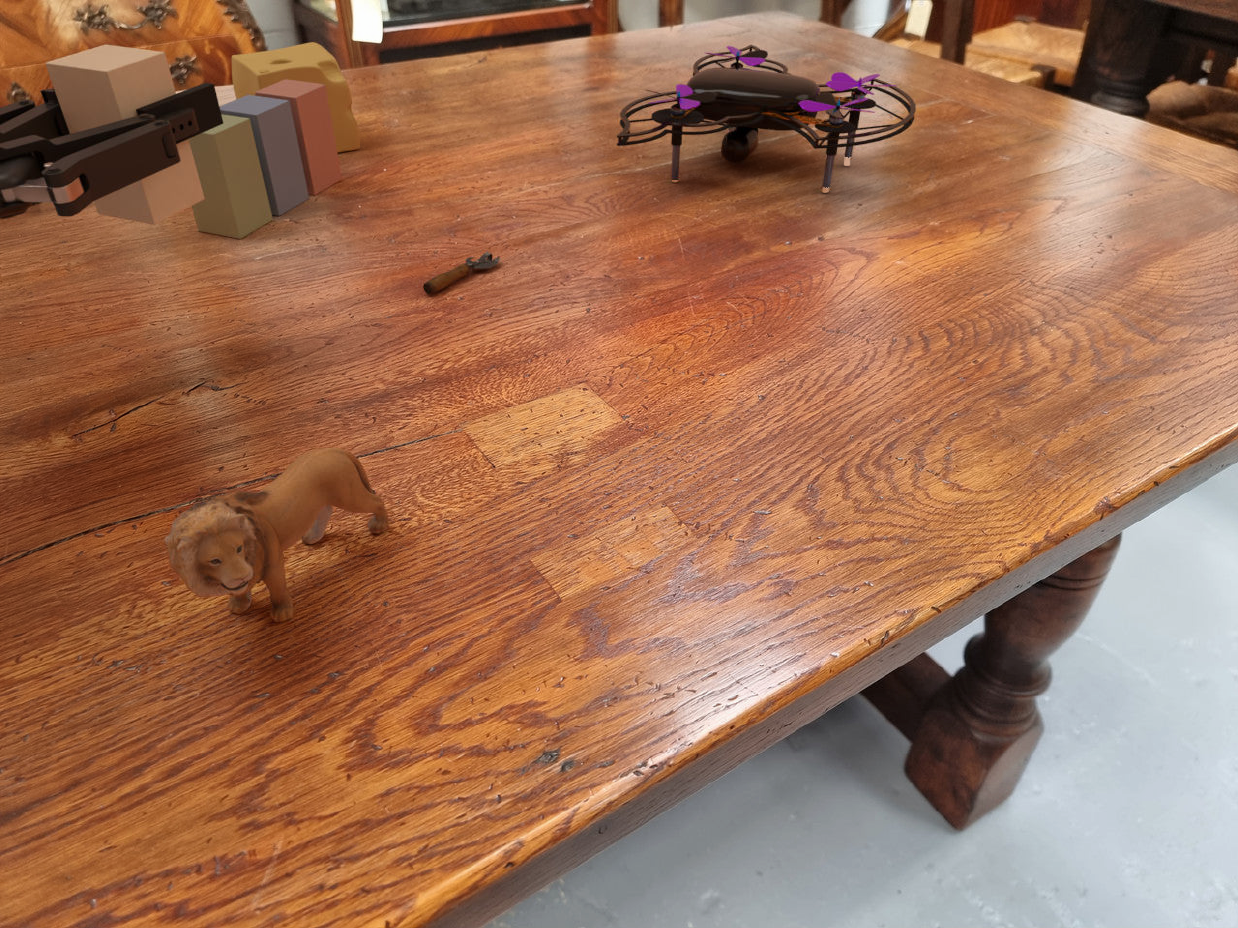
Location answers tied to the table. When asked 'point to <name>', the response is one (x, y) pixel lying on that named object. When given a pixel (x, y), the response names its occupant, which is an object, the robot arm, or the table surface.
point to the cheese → (306, 67)
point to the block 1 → (112, 92)
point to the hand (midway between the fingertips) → (181, 98)
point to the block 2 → (230, 180)
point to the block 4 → (310, 130)
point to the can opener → (459, 272)
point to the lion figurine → (268, 528)
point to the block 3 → (274, 149)
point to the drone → (764, 108)
